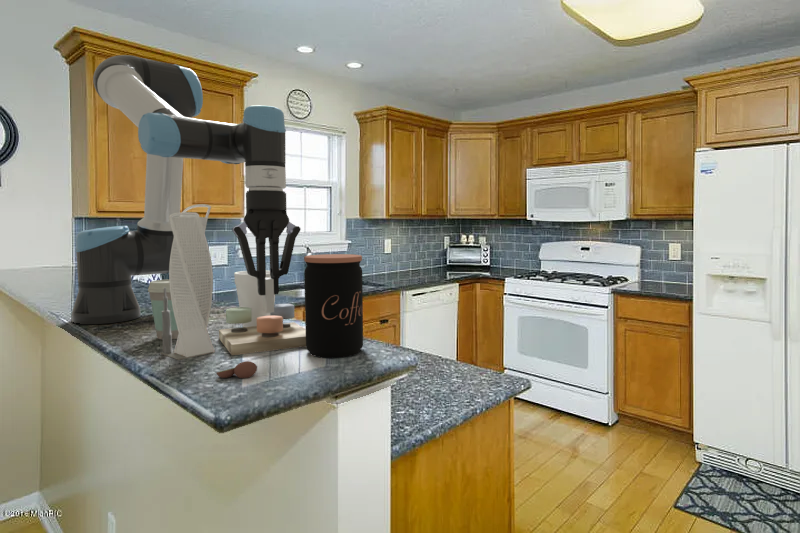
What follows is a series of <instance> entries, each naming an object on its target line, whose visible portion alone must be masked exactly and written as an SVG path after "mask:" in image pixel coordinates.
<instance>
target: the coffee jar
mask: <svg viewBox="0 0 800 533" xmlns="http://www.w3.org/2000/svg"><path fill="white" fill-rule="evenodd" d="M303 259H304V262H305V264H306V268H304V274H303V276H304V278H303V280H304V315H305V316H304V318H305V319H304V321H305V329H306V346H305V348H306V350H307V351H308V353H309V354H310V355H311V356H313V357H316V358H321V357H322V358H323V359H339V358H341V359H342V358H348V357H352V356H355V355H357V354H359V353H360V351H361V350H362V348H363V347H364V315H363V314H364V313H363V312H364V311H363V310H364V309H363V307H364V304H363V302H364V301H363V300H364V298H363V295H364V294H363V268H362V267H361V266H360V264H361V262H362V261H363V256H362V255H361V254H353V253H351V254H350V253H347V254H346V253H341V254H340V253H337V254H336V253H335V254H334V253H328V254H326V253H325V254H324V253H323V254H311V255H305V256H303Z"/></svg>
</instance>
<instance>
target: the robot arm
mask: <svg viewBox="0 0 800 533" xmlns="http://www.w3.org/2000/svg"><path fill="white" fill-rule="evenodd" d="M92 78H93V81H92V83H93V86H94V89H95V92H96V93H97V95H98V96H99V97H100V99H101V100H102V101H103V102H104V103H106V104H107V105H108V106H110V107H112V108H114V109H118V110H119V112H122V113H123V114H124V116H126V117H127V118H128V120H130V122H132V123H133V124H134V125H135V126H136V128H138V129H137V134H138V136H137V137H138V142H139V144H140V147H141V149H142V151H143V152H144V153H145V154H146V161H145V162H146V165H145V166H146V168H145V169H146V170H145V190H144V211H143V212H144V213H143V214H144V215H143V217H142V218H141V219H140V220H138V222H137V226H136V227H137V228H136V229H137V230H130V228H129V226H128V225H117V226H105V227H99V228H93V229H85V230H82V231H80V232H78V233H77V234H76V237H75V249H74V252H75V255H76V269H77V270H76V272H77V285H78V287H77V288H78V289H77V290H78V291H77V295H76V297H75V298H76V299H75V301H74V304H73V306H72V307H73V308H72V310H71V322H72V323H73V322H74V323H73V324H76V323H80V324H79V325H103V324H105V325H106V324H114V323H122V322H128V321H132V320H135V319H139V318H140V317H142V316H141V315H142V314H141V307H140V304H139V301H138V300H137V296H136V295H135V293H134V289H133V288H132V277H133V276H145V275H146V276H147V275H160V274H165V275H169V264H170V255H171V248H172V243H173V239H174V235H173V231H172V227H171V224H170V220H169V216H170V215H171V214H174V213H181V206H182V205H181V202H182V186H183V173H184V172H183V170H184V169H183V168H184V159H192V160H194V159H195V160H205V161H214V162H215V161H217V162H221V163H223V164H227V165H240V164H242V163H244V167H245V169H244V171H245V172H244V174H245V176H244V177H245V187H246V188H247V189H248V190H247V191H246V192H245V215H244V217H243V221H242V222H241V223H240V224H238V225H236V226H235V225H234V226H232V229H231V230H232V232H233V233H234V236H235V237H236V238H237V240H238V244H239V247H240V252H241V255H242V258H243V261H244V266H245V268H246V271H247V273H248V274H249V275H251V276H254V277H256V278H257V281H258V294H259V295H263V311H265V312H266V313H271V312H274V305H275V303H274V295H275V296H276V295H279V293H280V285H279V284H280V283H279V280H280V278H281V277H282V276H284V275H288V274H289V270H290V266H291V260H292V258H293V252H294V248H295V247H294V246H295V242H296V238H297V236H298V235H299V234H300V232H301V230H302V229H301V227H300V226H297V225H295V224H293V223H292V222H291V221H290V218H289V216H288V214H287V213H288V212H287V193H286V191H284V189H286V188H287V181H286V176H287V175H286V174H287V173H286V171H287V170H286V132H287V130H286V126H285V115H284V114H285V113H284V112H283V110H282V109H280V108H278V107H276V106H271V105H262V104H261V105H259V104H256V105H255V104H253V105H249V106H247V107H245V108H244V111H243V118H242V123H228V122H220V121H214V120H206V119H200V118H195V117H197V116H199V115H200V114H201V112H202V110H201V109H202V108H203V101H204V98H203V97H204V96H203V94H204V93H203V89H202V85H201V81H200V79H199V76H198V75H197V74H196V72H195V71H194V70H192V69H191V68H188V67H185V66H181V65H179V64H175V63H174V64H173V63H169V62H168V63H167V62H163V61H158V60H153V59H148V58H143V57H139V56H136V55H130V54H128V55H127V54H121V55H115V56H110V57H108V58H106V59H104V60H103V61H101V62H100V63H99V64H98V65H97V66H96V69H95V71H94V72H93V77H92ZM179 216H180V215H178V216H173V217H179ZM285 229H286V230H285ZM248 230H249V231H250V233H251V234H252V236H254V237H255V249H256V250H255V252H256V255H255V256H256V267H255V262H254V259H253V255H252V252H251V247H250V246H249V241H248V237H247V233H248ZM284 231H285V233H286V234H287V235H286V237H285V242H284V245H283V250H282V253H281V260H280V253H279V248H280V247H279V243H280V237H281V235H282V233H283V232H284ZM267 239H268V243H269V245H268V246H269V249H268V250H269V271H270V276H271V278H265V277H266V270H267V269H266V267H267V266H266V265H267V264H266V260H267V258H266V242H267ZM256 270H257V271H256Z"/></svg>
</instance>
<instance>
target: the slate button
mask: <svg viewBox="0 0 800 533" xmlns="http://www.w3.org/2000/svg"><path fill="white" fill-rule="evenodd" d="M270 316H282V317H283V321H284V320H290V319H294V318H295V305H294V304H292V303H278V304H277V303H276V304H274V312H271V313H270Z"/></svg>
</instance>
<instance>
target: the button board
mask: <svg viewBox="0 0 800 533" xmlns="http://www.w3.org/2000/svg"><path fill="white" fill-rule="evenodd" d="M218 339H219V341H221V343H222V344H223V346H224V347H225V349H226V350H227V351H228V352H229V353H230V355H231V356H238V355H248V354H254V353H263V352H271V351H279V349H281V350H287V349H295V348H304V347H305V348H306V327H303V326H301V325H299V324H298V323H296V322H292V321H291V322H283V331H280V332H276V333H259V332H257V326H251V327H243V326H242V327H234V328H223V329H218Z"/></svg>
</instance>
